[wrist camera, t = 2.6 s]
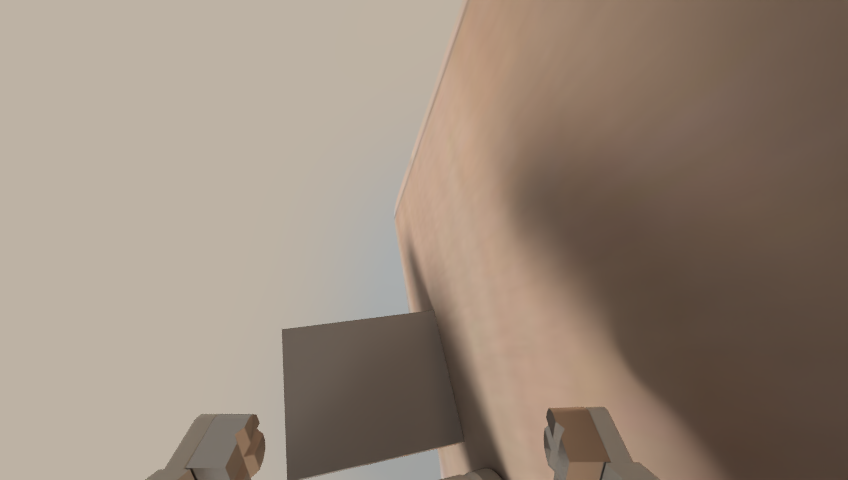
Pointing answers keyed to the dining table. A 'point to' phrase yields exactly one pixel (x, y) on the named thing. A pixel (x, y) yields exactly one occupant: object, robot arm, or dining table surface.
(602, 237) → the dining table surface
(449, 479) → the travel mug
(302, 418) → the tile
